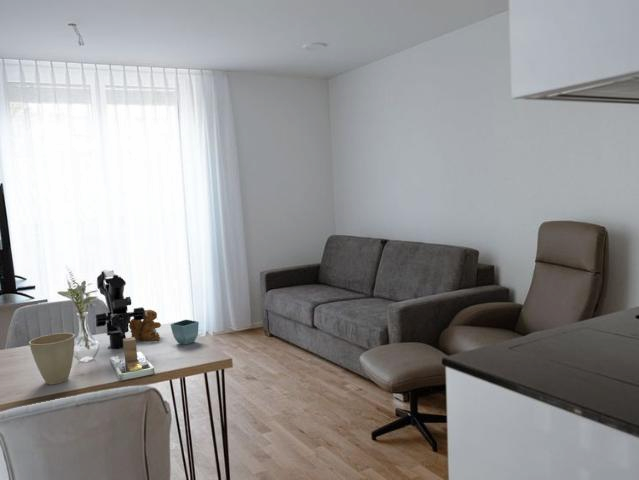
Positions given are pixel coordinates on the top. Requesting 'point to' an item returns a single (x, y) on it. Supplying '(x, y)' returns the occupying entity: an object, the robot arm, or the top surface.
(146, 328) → the stuffed squirrel
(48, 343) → the plant pot
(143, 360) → the slot bed
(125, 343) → the brown block
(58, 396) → the top surface
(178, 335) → the flower pot
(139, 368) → the yellow small block
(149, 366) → the tray
